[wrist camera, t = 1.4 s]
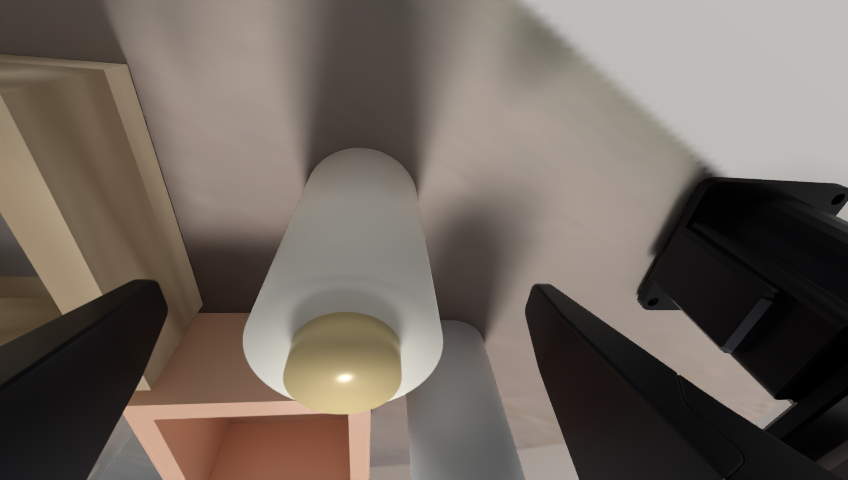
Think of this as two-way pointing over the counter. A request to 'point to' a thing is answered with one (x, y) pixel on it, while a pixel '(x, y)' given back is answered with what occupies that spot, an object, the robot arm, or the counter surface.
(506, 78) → the counter surface
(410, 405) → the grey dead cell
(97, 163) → the frame
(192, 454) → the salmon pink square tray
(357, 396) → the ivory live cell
